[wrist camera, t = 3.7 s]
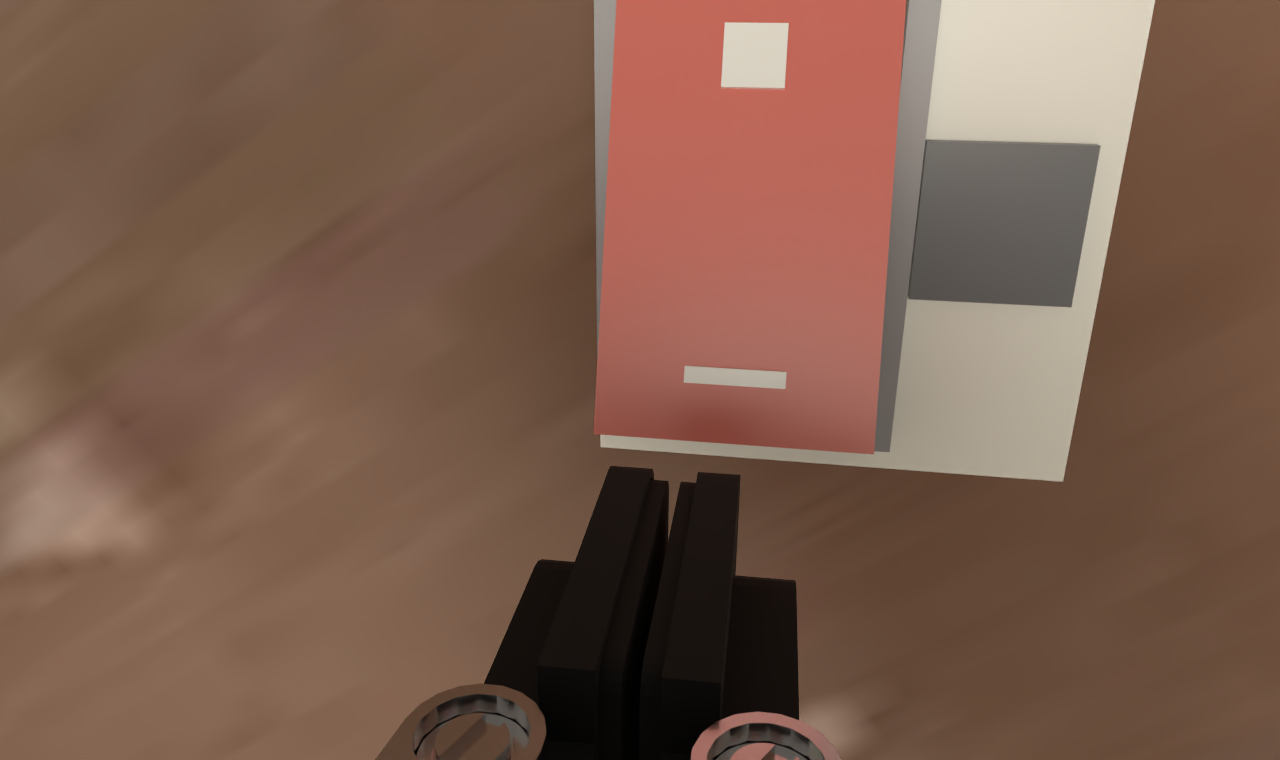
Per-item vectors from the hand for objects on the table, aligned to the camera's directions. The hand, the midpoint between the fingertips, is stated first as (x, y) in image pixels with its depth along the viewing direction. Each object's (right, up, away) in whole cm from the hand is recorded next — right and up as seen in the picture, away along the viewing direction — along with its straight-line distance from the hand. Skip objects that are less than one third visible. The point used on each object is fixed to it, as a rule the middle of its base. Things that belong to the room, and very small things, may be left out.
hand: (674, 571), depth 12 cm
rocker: (+2, +5, +7) cm, 9 cm away
